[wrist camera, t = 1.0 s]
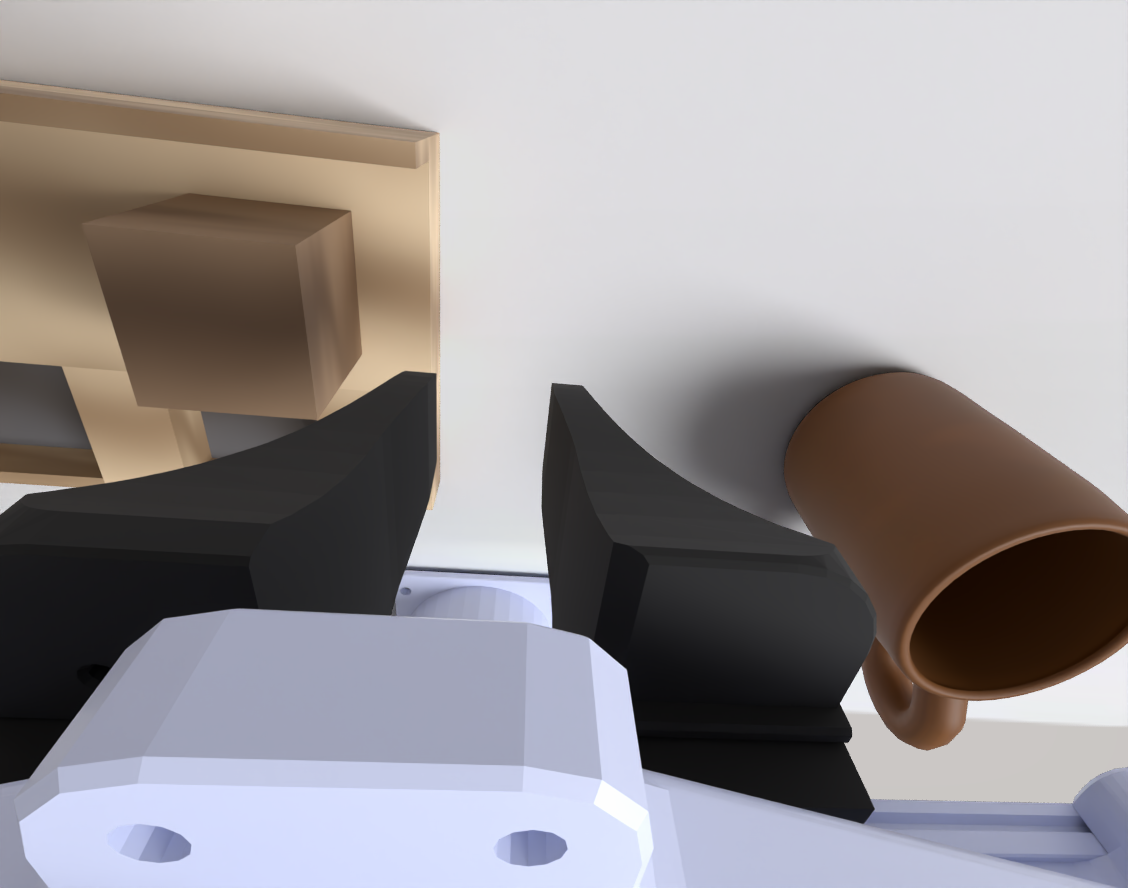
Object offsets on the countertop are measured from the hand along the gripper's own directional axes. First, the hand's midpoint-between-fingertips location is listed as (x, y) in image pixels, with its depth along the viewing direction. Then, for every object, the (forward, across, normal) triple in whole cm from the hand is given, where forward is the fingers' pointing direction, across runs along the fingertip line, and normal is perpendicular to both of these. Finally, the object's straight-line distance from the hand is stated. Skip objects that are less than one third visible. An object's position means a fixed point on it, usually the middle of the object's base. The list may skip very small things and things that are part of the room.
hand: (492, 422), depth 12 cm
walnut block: (+8, +7, 0) cm, 11 cm away
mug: (+10, -16, +8) cm, 20 cm away
